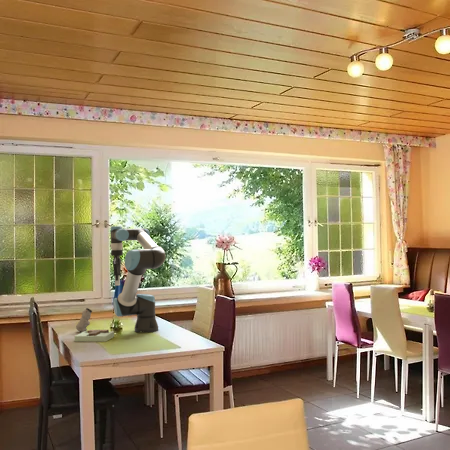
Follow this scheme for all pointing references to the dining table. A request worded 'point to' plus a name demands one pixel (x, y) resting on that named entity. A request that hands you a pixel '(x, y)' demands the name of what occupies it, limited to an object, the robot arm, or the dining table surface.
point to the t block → (96, 332)
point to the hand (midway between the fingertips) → (117, 285)
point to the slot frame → (100, 337)
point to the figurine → (84, 320)
